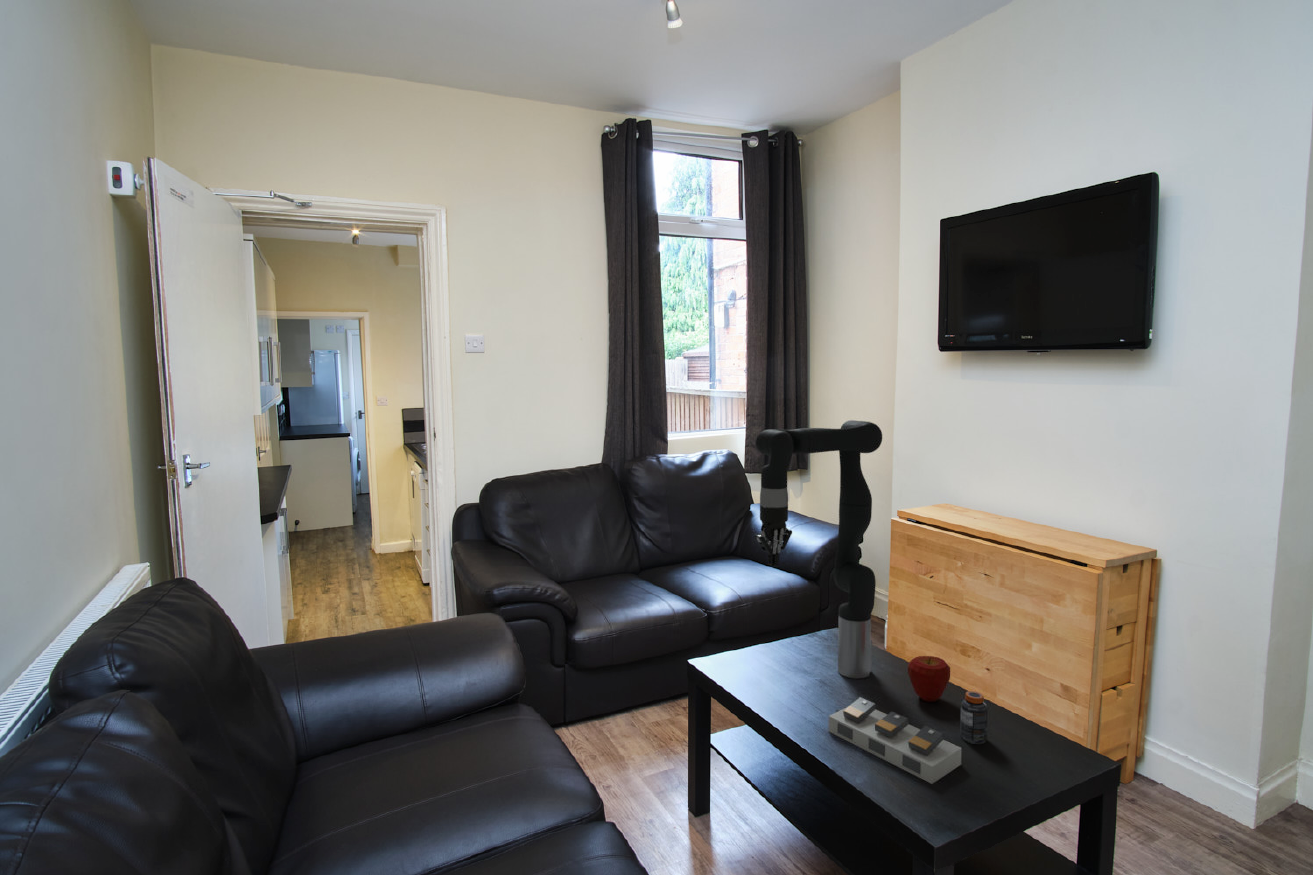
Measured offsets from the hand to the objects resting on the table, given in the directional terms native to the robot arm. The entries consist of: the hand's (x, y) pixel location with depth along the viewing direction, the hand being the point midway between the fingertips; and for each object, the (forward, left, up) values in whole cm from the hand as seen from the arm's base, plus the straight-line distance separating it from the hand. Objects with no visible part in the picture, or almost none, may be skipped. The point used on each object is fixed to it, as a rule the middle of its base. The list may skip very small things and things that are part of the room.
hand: (773, 566), depth 186 cm
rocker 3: (-3, +45, -33) cm, 56 cm away
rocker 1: (-3, +27, -33) cm, 42 cm away
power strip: (-3, +36, -37) cm, 51 cm away
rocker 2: (-3, +36, -33) cm, 49 cm away
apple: (-32, +28, -37) cm, 56 cm away
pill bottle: (-22, +46, -37) cm, 63 cm away
